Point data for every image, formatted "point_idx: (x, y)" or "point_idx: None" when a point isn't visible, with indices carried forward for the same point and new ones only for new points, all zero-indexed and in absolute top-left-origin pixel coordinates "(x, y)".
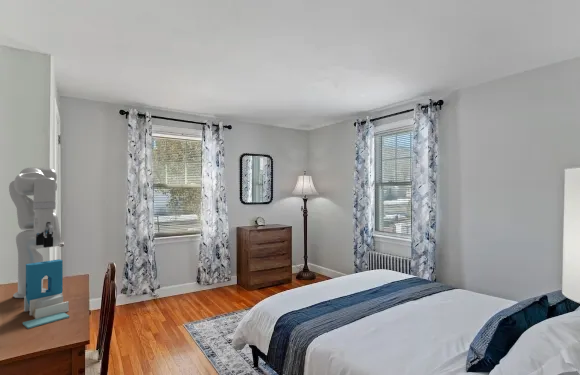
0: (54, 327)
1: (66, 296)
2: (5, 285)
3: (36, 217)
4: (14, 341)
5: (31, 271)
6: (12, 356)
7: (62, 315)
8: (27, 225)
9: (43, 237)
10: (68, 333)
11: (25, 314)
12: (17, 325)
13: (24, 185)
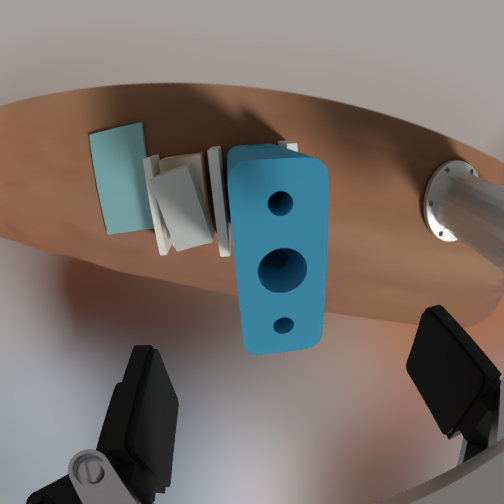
0: (59, 191)
1: (344, 270)
2: None
3: None
4: (35, 112)
5: (227, 173)
6: None
7: (122, 220)
8: None
9: (444, 415)
10: (14, 211)
11: (241, 137)
12: (141, 110)
13: None
